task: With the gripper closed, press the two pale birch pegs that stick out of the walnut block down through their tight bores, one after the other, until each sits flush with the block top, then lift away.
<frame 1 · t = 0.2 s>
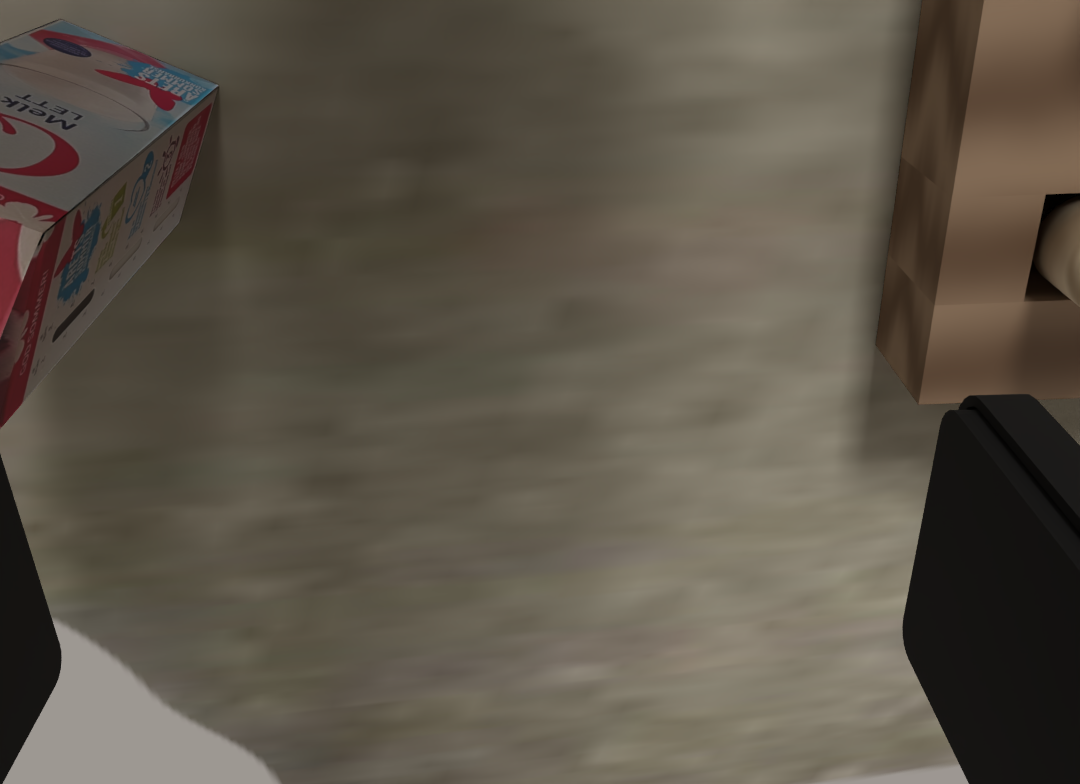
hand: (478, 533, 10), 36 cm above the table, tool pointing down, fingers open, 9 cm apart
press block: (1057, 41, 44), on the table
juice carton: (123, 124, 44), on the table
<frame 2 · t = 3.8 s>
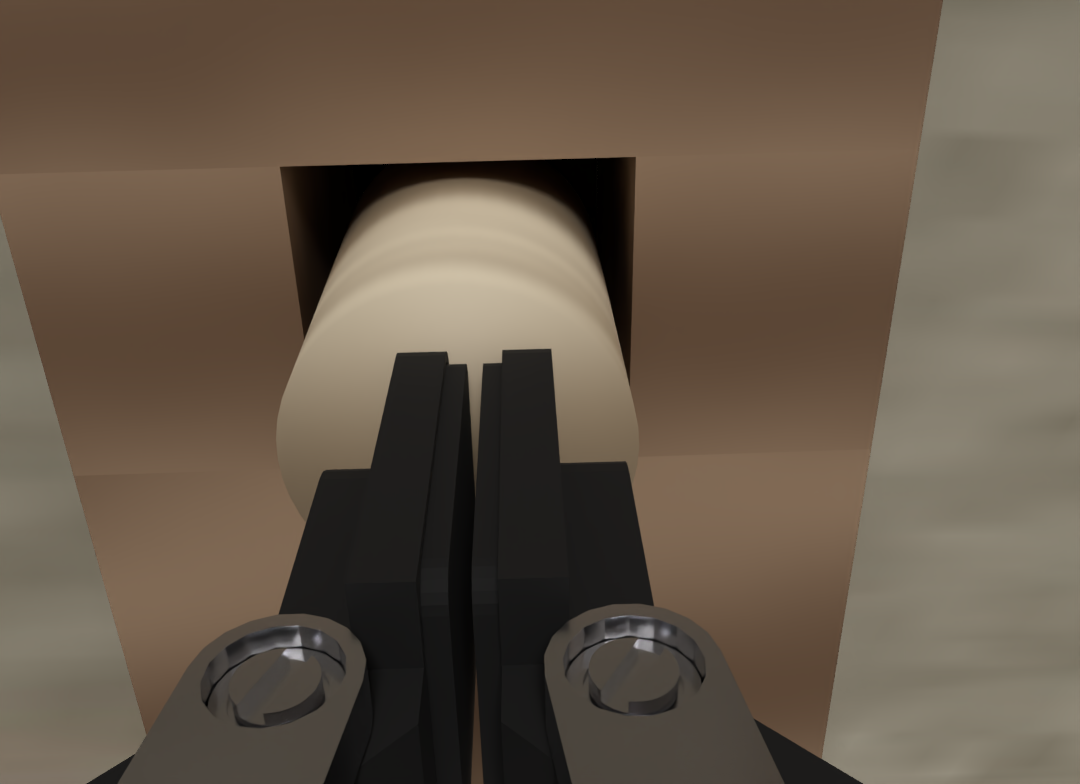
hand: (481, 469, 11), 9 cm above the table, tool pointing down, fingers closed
press block: (491, 495, 23), on the table
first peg: (466, 339, 14), point 7 cm above the table, slide at 1.6 cm, touching gripper
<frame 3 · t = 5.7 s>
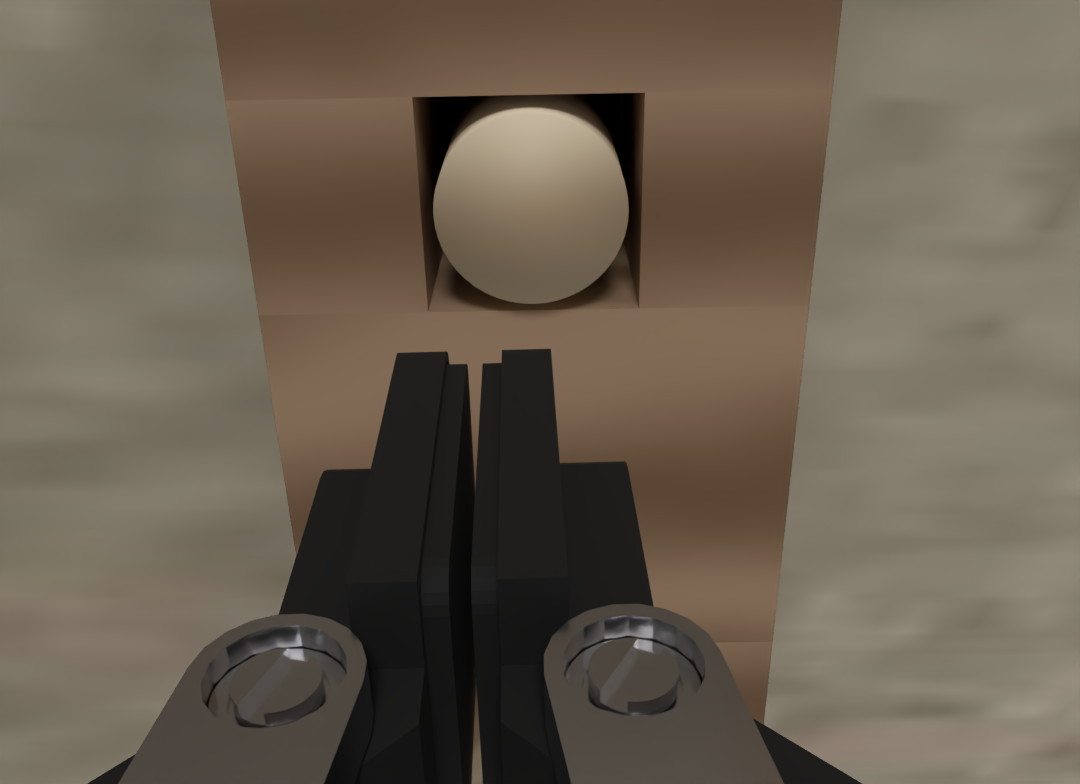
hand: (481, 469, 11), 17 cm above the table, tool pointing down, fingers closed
press block: (537, 380, 30), on the table
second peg: (543, 772, 26), point 8 cm above the table, slide at 0.0 cm
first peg: (531, 175, 24), point 3 cm above the table, slide at 4.6 cm
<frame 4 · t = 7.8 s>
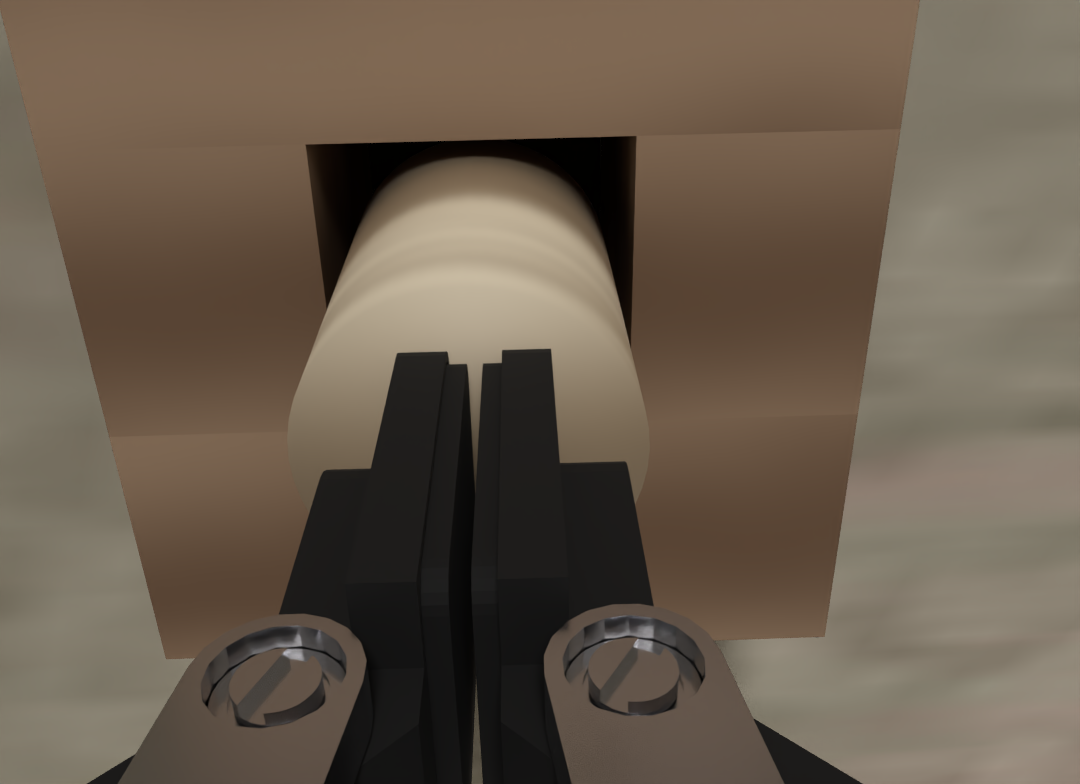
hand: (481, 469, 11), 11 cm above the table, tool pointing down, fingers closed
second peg: (476, 340, 14), point 8 cm above the table, slide at 0.5 cm, touching gripper
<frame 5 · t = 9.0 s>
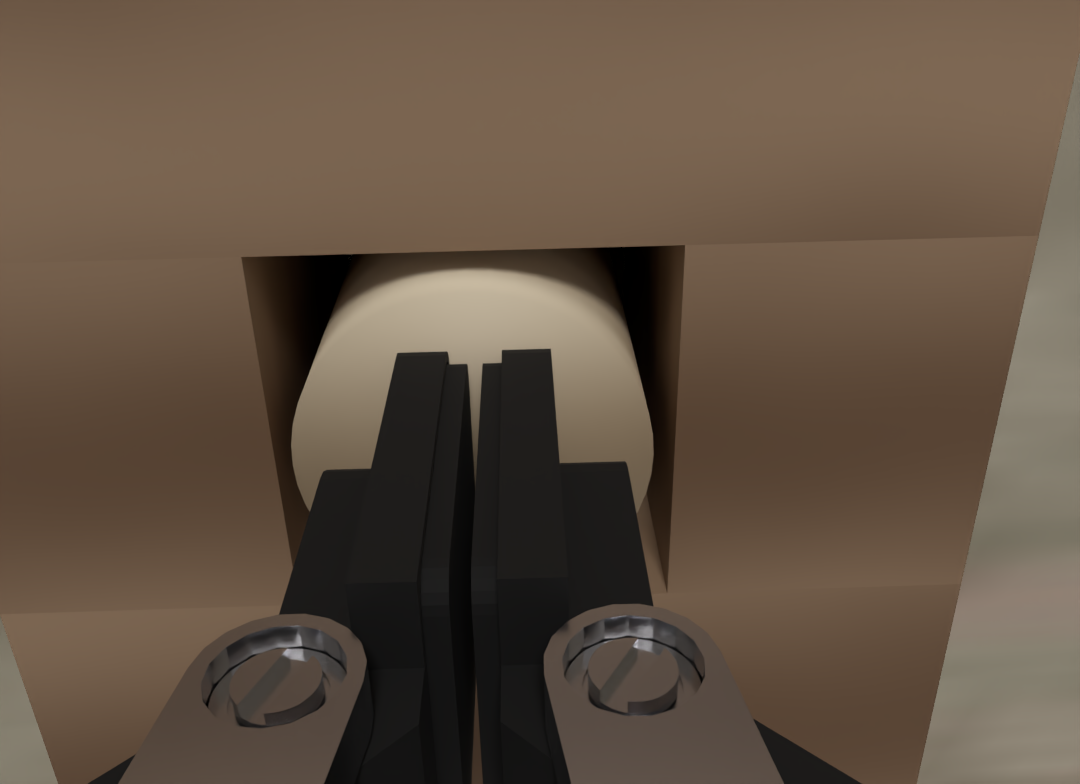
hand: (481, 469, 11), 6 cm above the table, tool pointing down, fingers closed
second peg: (480, 345, 14), point 3 cm above the table, slide at 4.6 cm, touching gripper
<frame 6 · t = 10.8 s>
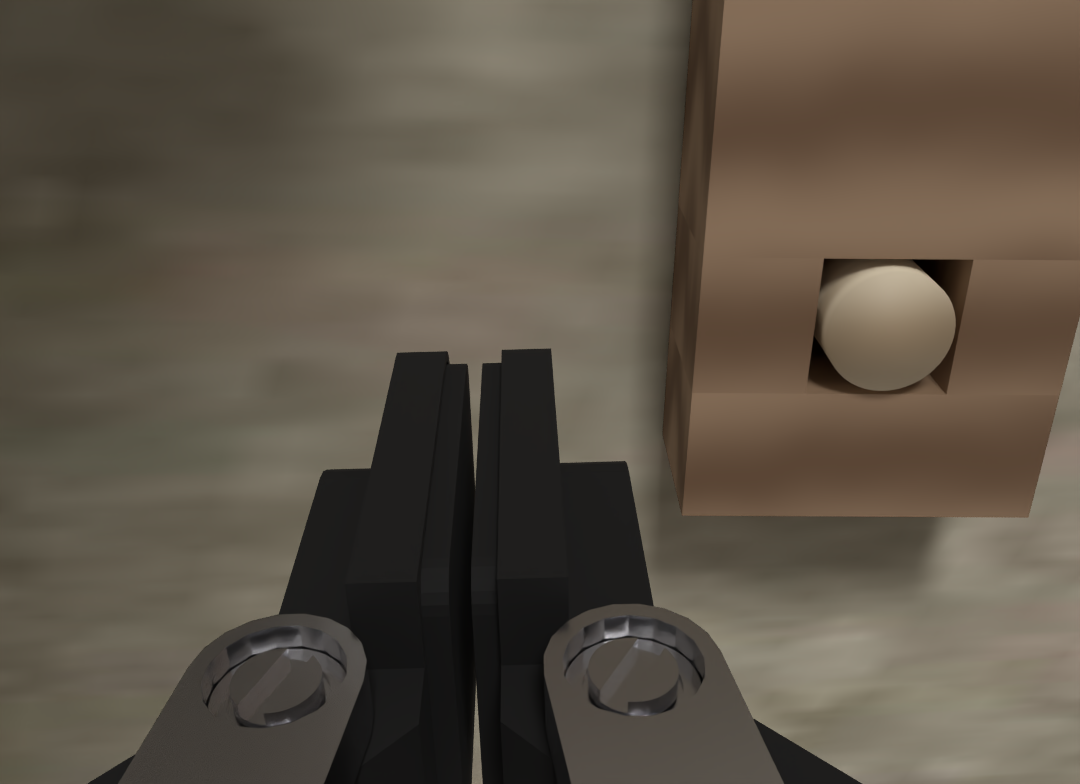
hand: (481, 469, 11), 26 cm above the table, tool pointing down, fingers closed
press block: (864, 69, 35), on the table
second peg: (864, 300, 35), point 3 cm above the table, slide at 4.6 cm
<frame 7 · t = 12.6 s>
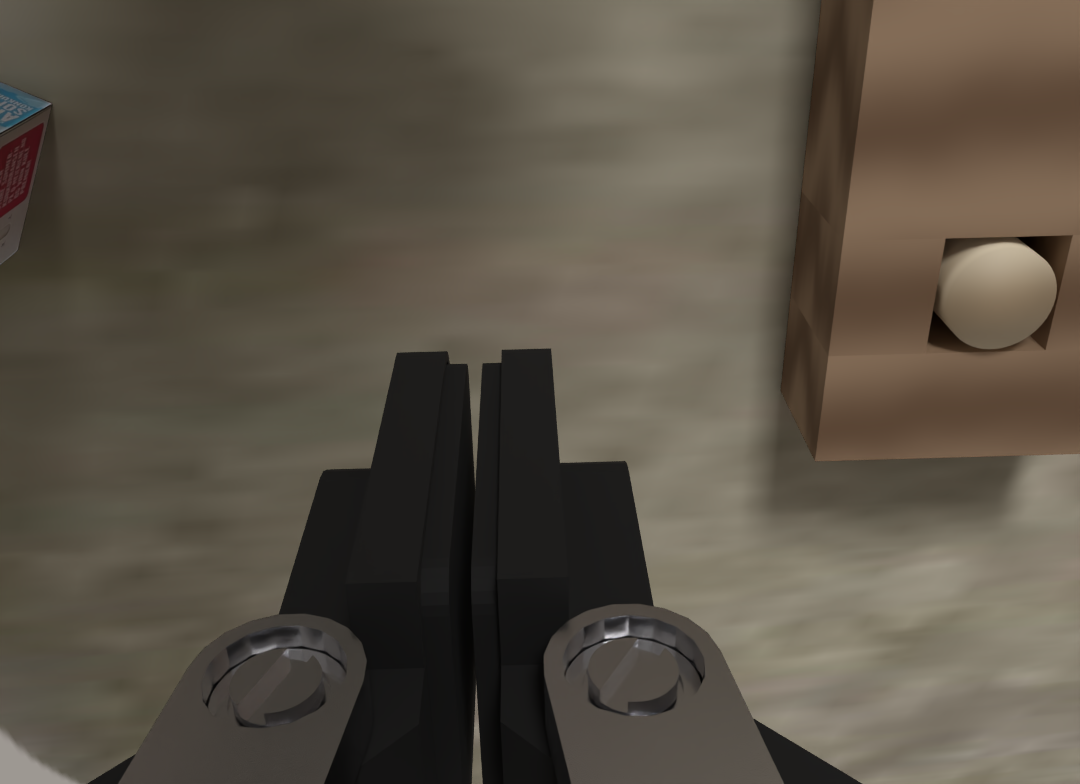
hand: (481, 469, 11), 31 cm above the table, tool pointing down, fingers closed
press block: (967, 69, 40), on the table
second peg: (970, 270, 40), point 3 cm above the table, slide at 4.6 cm
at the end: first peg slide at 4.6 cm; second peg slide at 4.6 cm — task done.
